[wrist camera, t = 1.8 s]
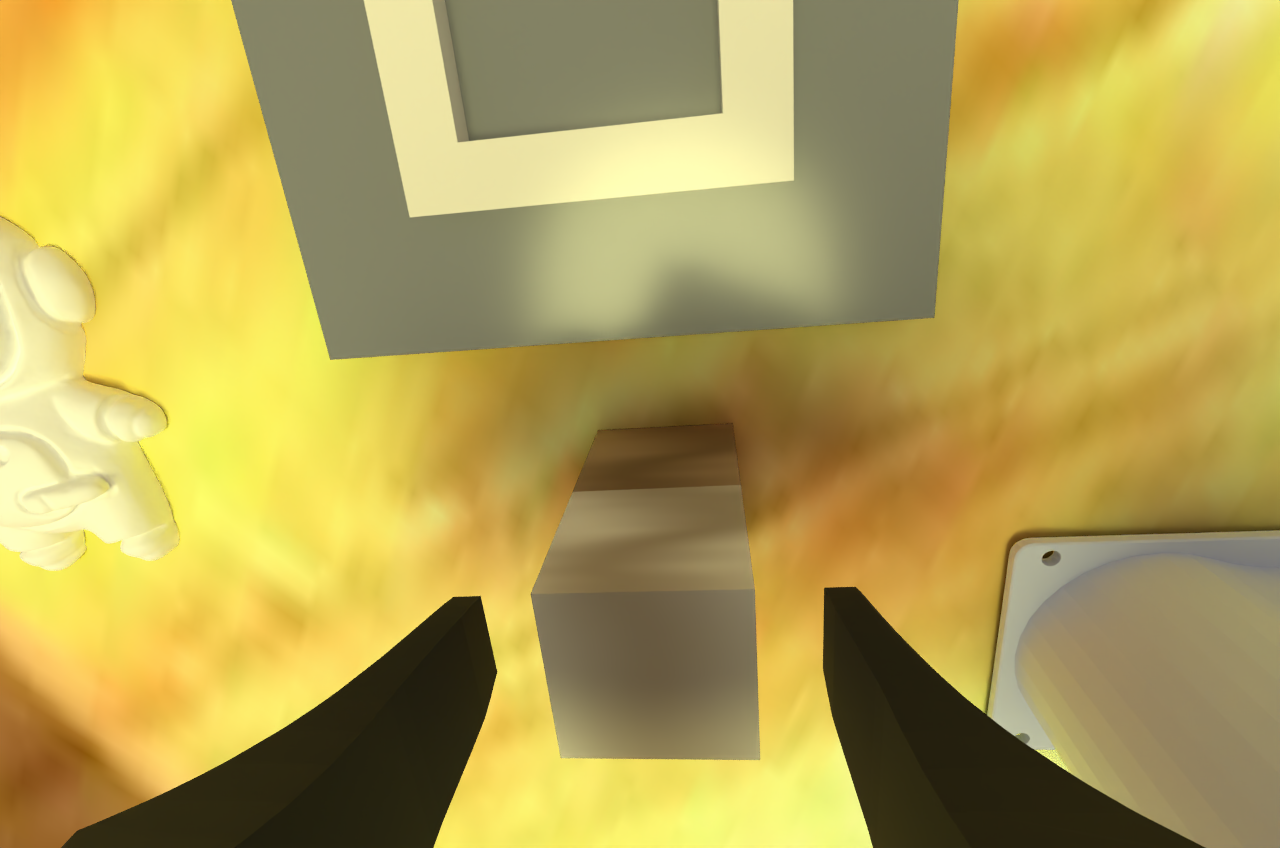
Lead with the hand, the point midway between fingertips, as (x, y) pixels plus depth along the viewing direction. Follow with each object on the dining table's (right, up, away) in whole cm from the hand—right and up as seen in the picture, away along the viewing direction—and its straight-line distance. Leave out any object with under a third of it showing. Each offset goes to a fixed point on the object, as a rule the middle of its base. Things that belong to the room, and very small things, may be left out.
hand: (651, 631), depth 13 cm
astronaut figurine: (-20, +5, +8) cm, 22 cm away
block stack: (+1, +2, +6) cm, 7 cm away
